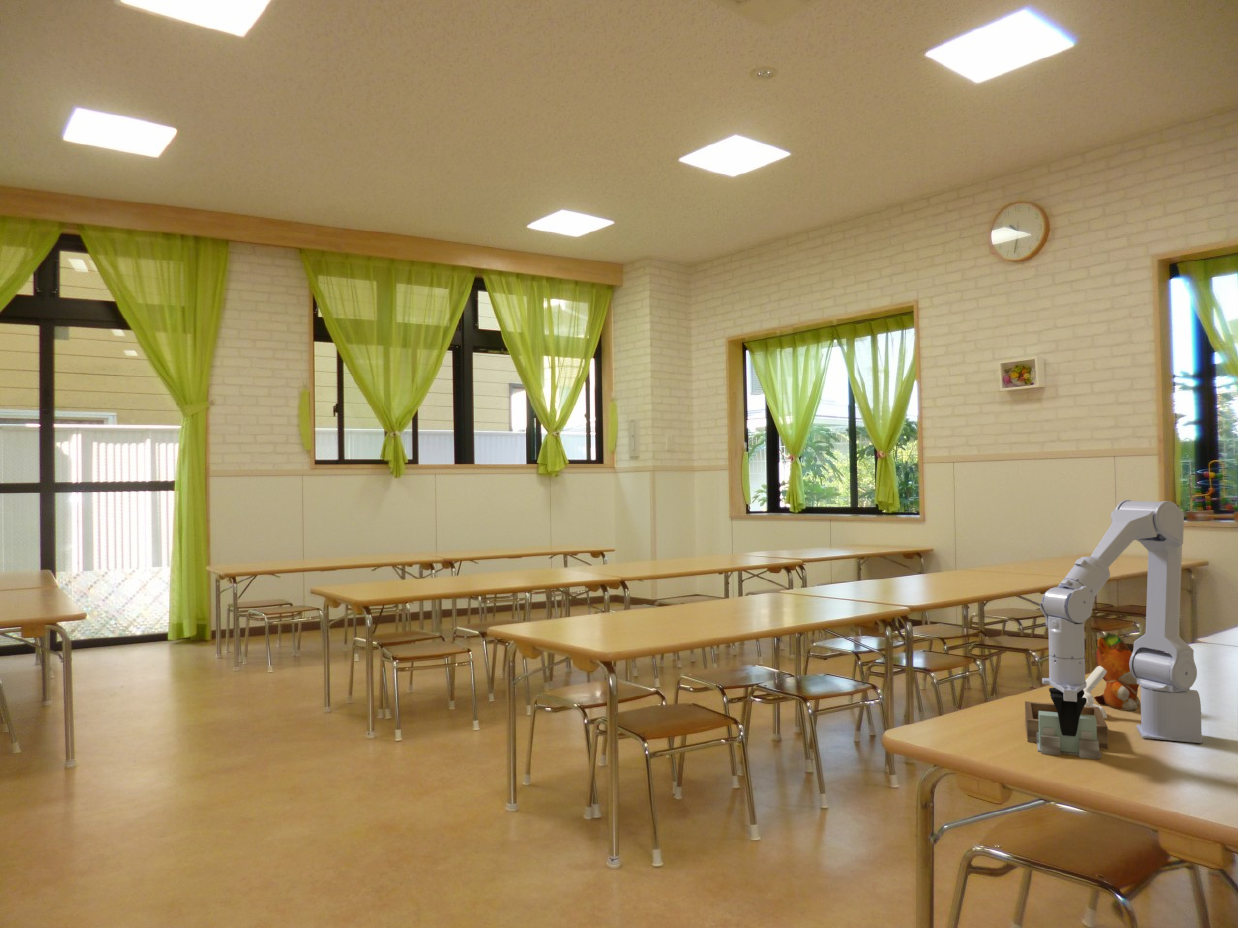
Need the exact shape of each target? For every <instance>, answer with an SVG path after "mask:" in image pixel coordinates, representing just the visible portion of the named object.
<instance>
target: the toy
mask: <svg viewBox="0 0 1238 928" xmlns="http://www.w3.org/2000/svg"><path fill="white" fill-rule="evenodd" d="M1096 646H1097V648H1096V652H1095V662H1096V667H1097V666H1101V667H1103V668H1104V669H1105V670H1106V671H1107V672H1106V674H1105V676H1104V677H1103V678H1102V679H1103V681H1104V682H1106V685H1105V688H1104V691H1103V693H1102V694H1101V695H1096V696H1094V697H1093V698H1094V701H1095V702H1096V703H1097V705H1098V704H1099V705H1104V706H1108V707H1110V708H1113V709H1117V710H1122V711H1128V712H1136V710H1137V707H1139V706H1141V699H1140V698H1139V697H1138V693H1139V687H1140V685H1139V684H1137V679H1136V678H1134V677H1133V675H1132V674H1131V671H1130V667H1129V661H1130V657H1131V655H1132V653H1133V651H1131V649H1129V647H1128V646H1127V644H1126V643H1125V642H1124V641H1123V640H1122V639H1121V637H1120V636H1118V635H1117V634H1116V633H1110V632H1107V633H1106V634H1105V635H1104V636H1103V637H1102V636H1100V637H1099V638H1098V639H1097V642H1096Z"/></svg>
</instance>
